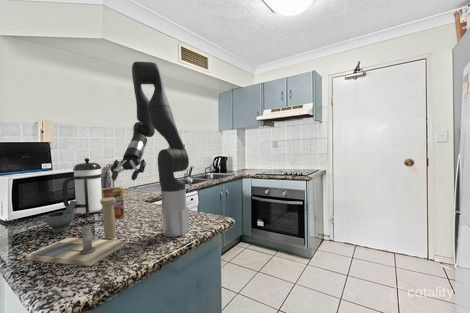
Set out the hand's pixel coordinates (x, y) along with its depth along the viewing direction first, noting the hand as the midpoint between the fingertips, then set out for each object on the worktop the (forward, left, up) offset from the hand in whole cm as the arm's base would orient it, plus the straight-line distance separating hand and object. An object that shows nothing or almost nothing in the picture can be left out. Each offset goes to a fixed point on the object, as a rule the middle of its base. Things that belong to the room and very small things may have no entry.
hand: (123, 179), depth 96 cm
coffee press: (+35, -16, -21) cm, 44 cm away
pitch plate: (0, +23, -21) cm, 31 cm away
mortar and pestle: (+27, +5, -21) cm, 35 cm away
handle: (-2, +11, -21) cm, 24 cm away
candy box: (+15, -11, -21) cm, 28 cm away
